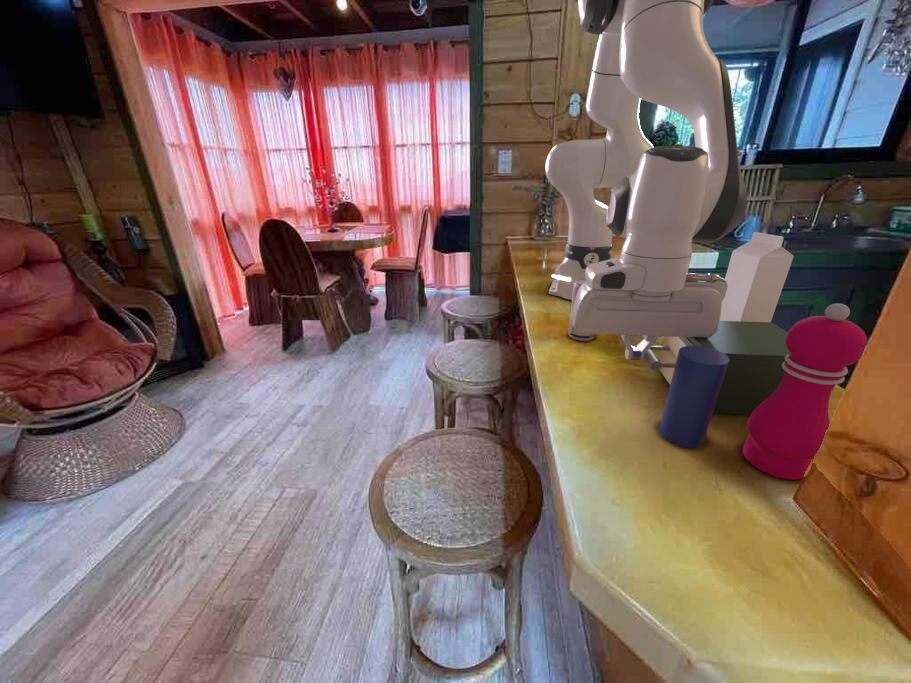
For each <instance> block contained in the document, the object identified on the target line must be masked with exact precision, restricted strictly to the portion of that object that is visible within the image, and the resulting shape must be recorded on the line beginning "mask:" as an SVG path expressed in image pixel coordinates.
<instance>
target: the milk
mask: <svg viewBox="0 0 911 683" xmlns="http://www.w3.org/2000/svg"><path fill="white" fill-rule="evenodd" d="M784 239H785V238H784V236H781V235H776V234H770V233H766V232H765V233H764V232H759V231H754V232H752V234H751V238H750V240H749V241H747V242H746V243H743V244H742V245H740V246H739V247H736V248H735V249H734V250H732V252H731V256H730V260H729V263H728V267H727V270H726V274H725V277H724V279H725V280H726V282H727V285H728V287H727V291H726V295H725V297H724V299H723V301H722V307H721V316H720V321H745V322H772V320H773V317H774V313H775V311H776V308H777V305H778V303H779V300H780V296H781V293H782V291H783V289H784V285H785V282H786V280H787V277H788V274H789V272H790V268H791V266H792V262H793V259H794V255H793V254H792V253H791V252H789V250H787V249H785V248H784V247H783V246H782V245H783V243H784Z"/></svg>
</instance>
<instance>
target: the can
mask: <svg viewBox="0 0 911 683" xmlns="http://www.w3.org/2000/svg"><path fill="white" fill-rule="evenodd" d="M728 364H729V357H728V356H727V355H725V354H724V353H722V352H720V351H717V350H715V349H711V348H707V347H702V346H685V347H682V348H680V349H679V352H678V356H677V360H676V364H675V368H674V372H673V376H672V380H671V384H669V388H668V393H667V395H666V396H667V397H666V400H665V404H664V409H663V412H662V416H661V420H660V425H659V428H658V429H659V430H658V431H659V433H660V435H661V437H663V438H664V439H665V440H666V441H668V442H670V443H672V444H674V445H676V446H678V447H682V448H688V449H689V448H690V449H691V448H692V449H693V448H699V447H701V446H702V445H703V444H704V443H705V440H706V436H707V434H708V430H709V427H710V423H711V420H712V417H713V414H714V413H713V411H714V408H715V405H716V402H717V399H718V395H719V392H720V389H721V386H722V383H723V380H724V377H725V373H726V370H727V367H728Z"/></svg>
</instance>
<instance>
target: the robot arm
mask: <svg viewBox="0 0 911 683" xmlns="http://www.w3.org/2000/svg"><path fill="white" fill-rule="evenodd" d="M714 1H715V0H577V4H578V5H577V8H578V9H577V10H578V15H579V16H578V17H579V22H580V26H581V27H582V29H583V30H584V32H586V33H588V34H591V35H598V36H599V37H598V40H597V44H596V48H595V51H594V52H595V53H594V57H593V60H592V65H591V66H592V67H591V71H590V72H591V73H590V79H589V83H588V89H587V96H586V101H585V111H586V114H587V116H588V117H589V119H590V120H592V121H593V122H594V123H595V124H597V125H599V126H601V127H603V128H605V129H606V135H605V137H604V138H595V139H594V138H591V139H589V138H588V139H573V140H568V141H564V142H560V143H556V144H555V145H554V146H553V147H552V148H551V149H550V151H549V152H548V154H547V157H546V158H545V165H544V170H545V176H546V179H547V180H548V182H549V183H550V185H551V186H553V187H554V188H555V189H556V190H557V191H558V192H559V193H560V194H561V196H562V197H563V199H564V201H565V204H566V207H567V211H568V236H567V242H566V244H565V247H564V258H563V260H562V262H560V264H558V266H556V267H554V274H551V278H553V280H552V282H551V285H550V287H549V290H548V294H549V295H550V296H551V295H552V296H556V297H560V298H563V299H565V300H569V301H572V296H573V288H574V283H575V281H576V280H577V279H583V278H586V280H587V281H586V282H584V283H583V284H582V285H581V286H580V288H579V290H578V292H577V295H576V298H575V302H574V306H573V311H572V325H573V327H574V328H575V330H576V331H577V332H578V333H595V335H596V334H597V335H598V334H599V335H620V337H621V339H622V341H623V343H624V345H625V352H624V357H625V359H626V360H627V361H645V360H644V357H645V353H646V351H647V350H648V349H649V348H650V347H651V346H654V345H655V344H656V342H657V339H658V337H664V336H671V337H696V338H710V337H711V336H713V335H714V334H715V333H716V332H717V331H718V327H719V322H720V316H721V307H722V301H723V299H724V297H725V295H726V291H727V287H728V285H727V282H726V280H725V277H722V276H720V274H718V273H697V272H693V273H692V272H689V268H690V264H691V259H692V255H693V243H700V244H701V243H702V244H713V243H715V242H717V241H719V240H721V239H722V238H724V237H726V236H727V235H728V234H730V233H731V232H732V231H733V230H734V229H736V227H737V226H739V225H740V223H741V222H742V220H743V219H744V217H745V214H746V211H747V205H748V192H747V188H746V187H747V186H746V183H745V179H744V176H743V173H742V171H741V165H740V161H739V159H740V158H739V152H738V150H739V149H738V141H737V133H736V132H737V131H736V123H735V121H736V120H735V113H734V112H735V111H734V103H733V93H732V86H731V80H730V75H729V70H728V67H727V65H726V62H725V61H723V60H722V59H720V58H719V57H718V56H716V54H715V53H714V52H713V50H712V48H711V47H710V45H709V42H708V40H707V37H706V34H705V30H704V17H705V16H706V15H707V14H708V12H709V11H710V9H711V7H712V5H713V3H714ZM641 100H643V101H645V102H648V103H652V104H654V105H659V106H661V107H664V108H667V109H668V110H669V109H670V110H671V111H674V112H676V113H678V114H680V115H682V116H683V117H684V118H685V119H686V120H687V121H688V122H689V124H690V125H691V127H692V130H693V135H694V145H685V144H667V145H658V146H654V145H653V144H652V143H651V141H649V139H648V138H646V136H645V135H644V132H643V131H642V129H641V125H640V118H639V116H640V115H639V113H640V106H641V105H640V104H641ZM595 189H610V190H609V197H608V203H607V205H608V206H607V205H606V204H604V203H603V202H601V201H598V200H597V199H596V198H595ZM613 234H614V235H615V236H616V237H620V238H622V239H625V240H624V242H623V244H622V247H621V250H620V255H619V256H616V257H612V253H613V244H612V239H613ZM635 336H642V337H643V340H642V341H640V342H641V343H640V342H639V343H640V344H639V346H637V345H632V344H631V342H633V341H634V340H635Z"/></svg>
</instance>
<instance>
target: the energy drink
mask: <svg viewBox="0 0 911 683" xmlns="http://www.w3.org/2000/svg"><path fill="white" fill-rule="evenodd" d="M586 281H587V280H586V278H583V279H577V280H576V281H575V283H574V288H573V296H572V300H571V307H570V313H569V314H570V316H569V323H568V324H569V325H568V336H569V338H570V339H572V340H575V341H579V342H588V341H592V340H593V339H595V336H596V334H595V333H578V332H577V331H576V330H575V328H574V327H573V325H572V311H573V306H574V302H575V298H576V295H577V292H578V290H579V288H580V286H581V285H582V284H583V283H584V282H586Z"/></svg>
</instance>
